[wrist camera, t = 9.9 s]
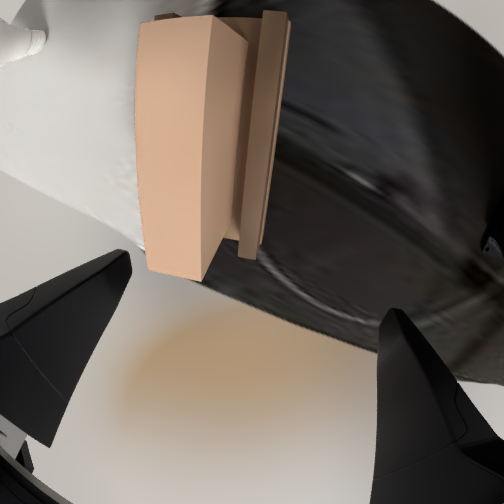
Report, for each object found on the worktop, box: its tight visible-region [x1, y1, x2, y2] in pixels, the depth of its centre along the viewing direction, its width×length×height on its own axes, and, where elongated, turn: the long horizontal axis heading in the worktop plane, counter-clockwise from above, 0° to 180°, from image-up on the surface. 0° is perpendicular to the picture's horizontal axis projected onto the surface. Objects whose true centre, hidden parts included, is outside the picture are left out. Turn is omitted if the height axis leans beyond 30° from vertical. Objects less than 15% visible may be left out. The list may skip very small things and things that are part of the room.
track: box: [154, 10, 291, 260], centre depth 16 cm, size 8×16×3 cm, turn 174°
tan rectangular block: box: [135, 15, 248, 281], centre depth 13 cm, size 3×12×7 cm, turn 174°
